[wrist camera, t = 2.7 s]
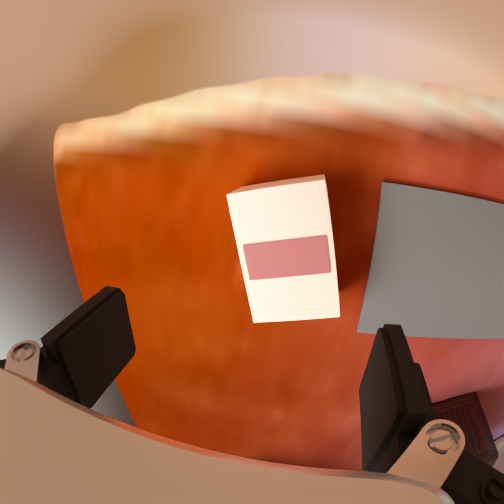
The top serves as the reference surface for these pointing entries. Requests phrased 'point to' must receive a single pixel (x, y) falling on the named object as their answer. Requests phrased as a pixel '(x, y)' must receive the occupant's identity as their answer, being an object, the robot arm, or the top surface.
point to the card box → (286, 249)
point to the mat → (436, 265)
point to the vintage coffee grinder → (469, 425)
